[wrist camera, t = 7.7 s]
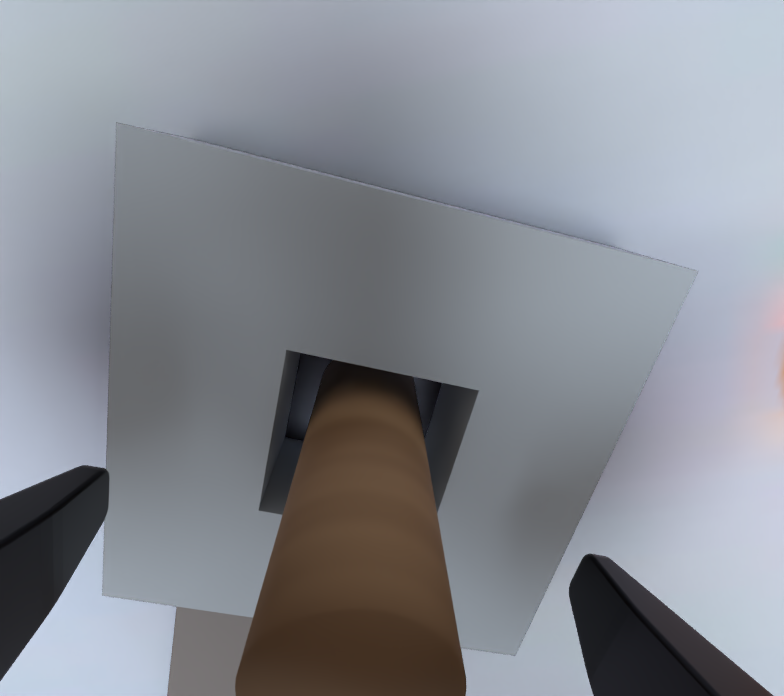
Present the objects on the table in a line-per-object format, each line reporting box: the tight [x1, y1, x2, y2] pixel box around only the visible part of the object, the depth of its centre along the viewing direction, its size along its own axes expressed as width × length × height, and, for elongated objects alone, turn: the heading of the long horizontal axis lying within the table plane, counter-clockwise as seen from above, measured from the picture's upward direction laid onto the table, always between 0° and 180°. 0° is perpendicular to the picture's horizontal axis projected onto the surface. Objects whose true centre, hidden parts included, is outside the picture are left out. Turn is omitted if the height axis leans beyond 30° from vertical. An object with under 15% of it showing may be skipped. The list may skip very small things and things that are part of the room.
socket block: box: [102, 122, 698, 656], centre depth 13 cm, size 12×12×4 cm
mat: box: [167, 607, 253, 696], centre depth 18 cm, size 14×10×1 cm
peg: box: [235, 360, 466, 696], centre depth 10 cm, size 3×3×9 cm
